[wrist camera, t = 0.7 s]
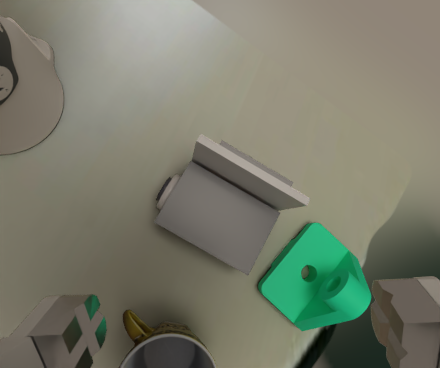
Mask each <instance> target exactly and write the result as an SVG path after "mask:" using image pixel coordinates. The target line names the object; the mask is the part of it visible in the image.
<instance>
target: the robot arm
mask: <svg viewBox="0 0 440 368" xmlns="http://www.w3.org/2000/svg"><path fill="white" fill-rule="evenodd" d="M63 103H64V96H63V89H62V85H61V83H60V80H59V78H58V76H57V74H56V72H55V69H54V53H53V49H52V47H51V46H50V45H49V44H48V43H47V42H46V41H44V40H41V39H39V38H36V37H33V36H31V35H28V34H26V33H25V31H24V30H23V29H22V28H21V27H20V26H19V25H18V24H17V23H16V22H15V21H14V20H13V19H11V18H10V17H7V18H5V17H3V16H1V15H0V155H1V154H12V153H17V152H20V151H24V150H26V149H29V148H31V147H33V146H35V145H36V144H38V143H39V142H41V141H42V140H43V139H45V138H46V137H47V136H48V135H49V134H50V133H51V132H52V130H53V129H54V128H55V126H56V124H57V123H58V121H59V119H60V116H61V113H62V109H63ZM372 294H373V296H374V297H375V299H376V301H375V302H374V303H373V304H372V305H371V318H372V324H373V328H374V331H375V334H376V336H377V338H378V340H379V342H380V343H381V344H383V345H384V346H386V347H387V359H388V361H389V363H390V365H391V367H392V368H440V281H439V280H438V279H437V278H436V277H433V276H428V277H415V278H407V279H389V280H374V282H373V284H372ZM99 306H100V303H99V300H98V298H97V296H95V295H93V294H88V295H63V296H62V295H59V296H48V297H45V298H43V299H42V300H41V302H40V303H39V304H38V305H37V306H36V307H35V308H34V309H33V311H32V312H31V313H30V314H29V315H28V316H27V317H26V318H25V320H24V321H23V322H22V323H21V324H20V325H19V326H18V327H17V328H16V330H15V331H14V332H13V333H12V334H11V335H10V336H9V337H7V338H2V339H0V368H91V366H92V364H93V360H92V356H93V355H94V354H95V353H96V352H98V351H99V350H100V349H101V347H102V345H103V343H104V341H105V336H106V331H107V329H106V321H105V318H104V316H103V315H102V314H101V313H100V312H98V309H99Z"/></svg>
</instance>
